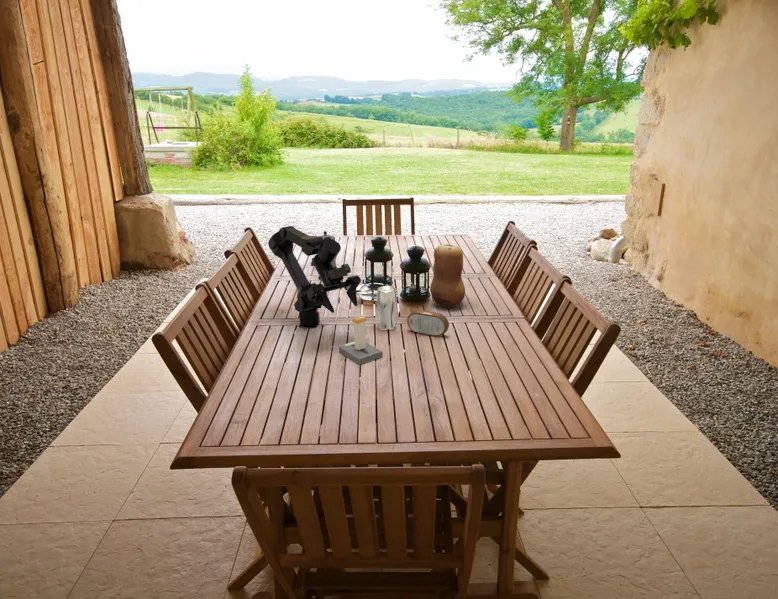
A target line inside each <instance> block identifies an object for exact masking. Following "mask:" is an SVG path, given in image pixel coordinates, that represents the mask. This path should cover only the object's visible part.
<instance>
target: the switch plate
mask: <svg viewBox="0 0 778 599" xmlns="http://www.w3.org/2000/svg"><path fill="white" fill-rule="evenodd" d="M338 353H340V354H341V355H343V356H345V357H346V358H348V359H350V360H351V361H352V362H354V363H356V364H358V365H363V364H366V362H367V363H369V361H370V362H372V360H373V361H375V360H374V359H376V360H378V359H381V358H383V351H382V350H381V349H379V348H377V347H375V346H373V345H372V344H370V343H368V342H366V348H364V349H361V350H357V349H355V340H354V341H351V342H348V343H345V344H342V345H340V346H338ZM380 357H381V358H380ZM377 358H378V359H377Z"/></svg>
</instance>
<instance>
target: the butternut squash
mask: <svg viewBox="0 0 778 599" xmlns="http://www.w3.org/2000/svg"><path fill="white" fill-rule="evenodd" d="M433 258H434V259H433V260H434V261H433V266H432V267H433V268H432V270H433V278H432V280H431V284H430V286H429V290H430V294H431V298H432V300H433V301H434V302H435V304H438V305H439V306H440V305H441V306H443V307H444V308H447V309H448V308H450V309H452V308H454V307H457V306H458V305H461V303H462V302H463V301H464V298H465V296H466V287H465V284H464V281H463V278H462V273H463V269H464V251H463V250H462V248H460V247H459V246H458V245H455V244H452V243H443V244H439V245H438V246H436V248H435V249H434V251H433Z"/></svg>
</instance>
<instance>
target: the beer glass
mask: <svg viewBox="0 0 778 599" xmlns="http://www.w3.org/2000/svg"><path fill="white" fill-rule="evenodd" d="M396 289H397V288H396V287H394V286H391V285H382V286H379V287H377V290H376V305H377V306H376V307H377V311H378V316H379V323H378V329H379V328H381V329H393V328H394V327H395V328H396V323H395V313H396V306H397V292H396V291H397V290H396Z"/></svg>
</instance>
